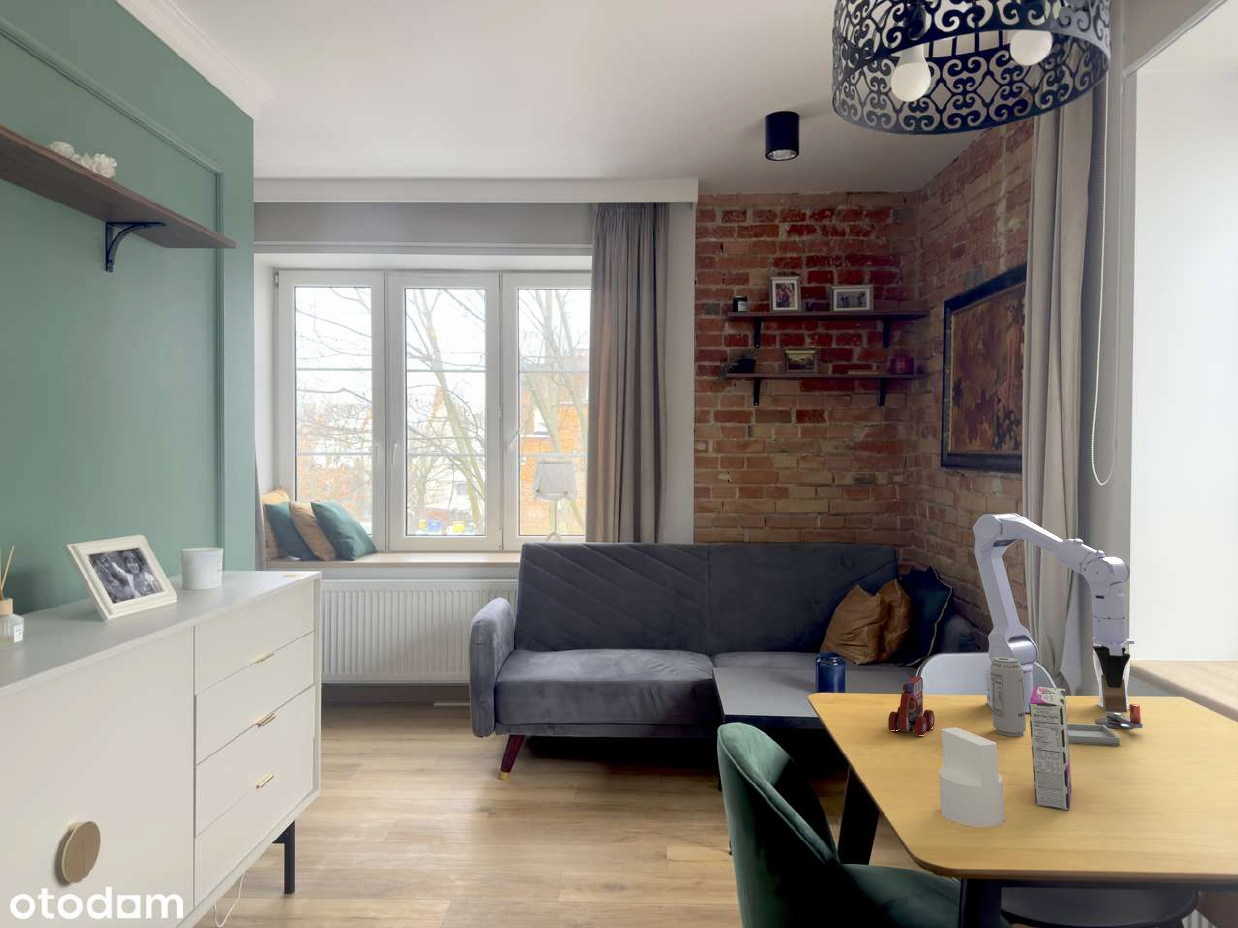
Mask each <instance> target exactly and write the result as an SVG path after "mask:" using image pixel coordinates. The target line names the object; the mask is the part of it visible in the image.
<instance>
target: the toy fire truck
mask: <svg viewBox="0 0 1238 928" xmlns="http://www.w3.org/2000/svg"><path fill="white" fill-rule="evenodd" d="M923 689H924V680H923V677H922V676H916V675H915V676H914V677H913V678H911V679H910V680H908V682H906V683H904V684H903V685H902V690H903V692H902V693H901V695H900V700H899V701H900V702H899V706H898V708H897V711H890V712H889V715H888V720H887V721H888V722H887V725H888V730H889V731H890V730H895V731H896V730H898V729H900V730H899V731H901V732H904V733H907V732H908V733H909V732H912V731H913V729H914V733H915V735H916V734H917V735H924V734H925V733H926V734H927V731H928V730H927V729H931V728H932V727H933V726H935V719H936V717H935V714H934V713H935V712H934V711H933V710H931V709H925V710H924V707H923V706H924V704H923V703H924V701H923V700H924V699H923V698H924V697H923V694H924V693H923V691H924V690H923ZM933 728H934V727H933ZM926 734H925V735H926ZM917 735H916V736H917Z"/></svg>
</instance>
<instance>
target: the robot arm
mask: <svg viewBox="0 0 1238 928" xmlns="http://www.w3.org/2000/svg"><path fill="white" fill-rule="evenodd" d="M972 531H973V534H974V538H975V539H974V540H975V541H974V551H973V553H974V555H975V559H976V560H975V562H976V564H977V567H978V568H977V569H978V572H979V576H980V579H981V584H982V587H983V591H984V595H985V598H986V602H987V607H988V610H989V614H990V616H991V621H992V624H993V627H992V628H993V629H992V630H991V632H990V633H989V634H988V637H987V640H988V657H989V660H990V661H991V663H992V662H993V658H994V657H999V656H1006V657H1014V658H1018V659H1019V662H1020V664H1021V666H1022V667H1023V677H1024V697H1025V714H1030V710H1029V701H1030V698H1031V695H1032V692H1033V688H1034V681H1033V680H1034V677H1033V669H1034V663H1036V662H1037V661H1038V658H1039V655H1040V654H1039V651H1040V650H1039V648H1038V646H1037V644H1036V642H1035V641H1034V640H1033V639H1032V636H1031V633H1030V631H1029V630H1028V629H1027V628H1026V627H1025V626H1023V625H1022V624H1021V623H1020V619H1019V616H1018V612H1017V608H1016V604H1015V601H1014V598H1013V593H1012V590H1011V586H1010V582H1009V578H1008V575H1007V571H1006V567H1005V564H1004V560H1003V555H1004V553H1005V552H1006V551H1007V549H1008V548H1009V547H1010V546H1011V545H1014V543H1016V542H1017V541H1018V540H1021V539H1022V540H1023V541H1026V542H1029V543H1030V544H1032V545H1035V546H1037V547H1039V548H1041V549H1043V550H1045V551H1047V552H1050V553H1052V554H1054V557H1055V561H1056V562H1058V563H1059V564H1061V565H1063V566H1065V567H1067V568H1068V569H1070V570H1072V571H1074V572H1076V573H1078V574H1080V575H1082V576H1083V577H1084V578H1085V581H1086V582H1087V584H1088V585H1089V588H1090V589H1089V591H1090V594H1091V609H1092V627H1093V628H1092V630H1093V637H1092V642H1094V643H1097V644H1099V645H1102V646H1093V645H1092V649H1093V648H1094V650H1095V652H1096V654H1097V656H1098V659H1099V662H1100V665H1101V669H1102V673H1103V675H1105V678H1106V682H1107V685H1108V687H1113V688H1121V684H1122V679H1123V673H1124V669H1125V666H1126V664H1127V662H1128V660H1129V658H1131V654H1130V653H1129V654H1128V653H1124V652H1125V650H1126V648H1125V647H1124V646H1126V645H1128V646H1129V645H1135V640H1134V638H1128V634H1127V631H1128V630H1127V615H1126V613H1127V612H1126V610H1127V609H1126V597H1125V593H1126V592H1125V583H1126V582H1128V580H1129V578H1130V572H1131V571H1130V567H1129V566H1128V563H1127V562H1126V561H1125V560H1123V559H1122V558H1120V557H1119V556H1117V555H1109V556H1106V555H1105V552H1104V551H1102V550H1095V549H1093V548H1091V547H1090V546H1087V545H1085V544H1084V541H1083V540H1082V539H1080V538H1074V539H1072V538H1067V539H1065V540H1063V539H1061V538H1060V537H1058V536H1056V535H1055V534H1053V533H1050V531H1047V530H1046V529H1044V528H1042V527H1040V526H1039V525H1037V524H1036V523H1033V522H1031V521H1030V520H1029V519H1028V518H1027V517H1025V516H1021V515H1020V514H1017V513H1016V512H1015V513H1014V512H1009V513H1000V514H999V513H995V514H991V513H990V514H989V513H987V514H982V515H981V516H979V518H978V519H977V520H976V522H975V523H974V525H973V526H972ZM985 680H986V681H985V682H986V685H985V686H986V703H987V705H988V706H989V708H990V709H991V710H992V690H991V669H990V668H989V667H988V668H986V672H985Z"/></svg>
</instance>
